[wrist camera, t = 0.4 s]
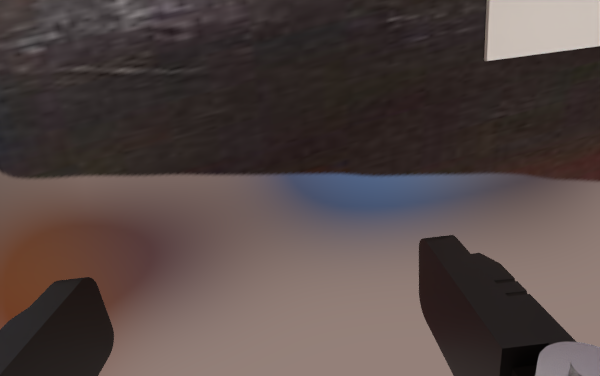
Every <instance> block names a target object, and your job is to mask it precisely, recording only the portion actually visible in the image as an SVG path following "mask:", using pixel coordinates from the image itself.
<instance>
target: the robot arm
mask: <svg viewBox="0 0 600 376" xmlns="http://www.w3.org/2000/svg"><path fill="white" fill-rule="evenodd" d="M419 297H420V303H421V308H422V312H423V315H424V317H425V320H426V322H427V324H428V326H429V328H430V330H431V331H432V334H433V336H434V337H435V339H436V341H437V343H438V345H439V347H440V349H441V351H442V353H443V355H444V357H445V359H446V361H447V363H448V365H449V367H450V369H451V371H452V373H453V375H454V376H600V347H597V346H594V345H590V344H585V343H580V342H576V341H575V340H574V339H573V338H572V337H571V336H570V335H569V334H568V333H567V332H566V331H565V330H564V329H563V328H562V327H561V326H560V325H559V324H558V323H557V322H556V321H555V319H554V318H553V317H552V316H551V315H550V314H549V313H548V312H547V311H546V310H545V309H544V308H543V307H542V306H541V305H540V304H539V303H538V302H537V301H536V300H535V299H534V298H533V297H532V296H531V295H530V294H527V291H526V290H525V289H524V288H523V287H522V286H521V285H520V284H519V283H518V282H517V281H516V282H515V279H514V277H513V276H512V275H511V274H510V273H509V272H508V271H507V270H506V269H505V268H504V267H503V266H502V265H501V264H500V263H498V262H495V261H494V260H492V259H490V258H488V257H486V256H485V255H482V254H480V253H476V254H470V253H469V252H468V250H466V248H465V247H464V246H463V245H462V244H461V243H460V241H459V240H458V239H457V238H456V237H455V236H453V235H449V236H441V237H432V238H424V239H421V241H420V243H419ZM113 340H114V332H113V328H112V325H111V322H110V319H109V316H108V313H107V311H106V308H105V305H104V302H103V300H102V297H101V294H100V291H99V289H98V286H97V284H96V282H95V281H94V280H93V279H92V278H89V277H86V278H78V279H69V280H60V281H56V282H54V283H53V284H52V285H50V286H49V288H47V290H46V291H45V292H44V293H43V294H42V295H41V296H40V297H39V298H38V299H37V300H36V301H35V302H34V303H33V304H32V305H31V306H30V307H29V308H28V309H26V310H24V311H23V312H21V313H20V314H18V315H17V316H15V317H14V318H12V319H11V320H10V321H8V322H7V324H6V325H4V327H2V328H1V330H0V376H98V375H99V373H100V371H101V370H102V368H103V366H104V364H105V363H106V361H107V359H108V357H109V355H110V353H111V351H112V347H113Z"/></svg>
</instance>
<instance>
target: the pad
mask: <svg viewBox="0 0 600 376" xmlns="http://www.w3.org/2000/svg"><path fill="white" fill-rule="evenodd" d="M596 46H600V0H487V4H486V28H485V52H484V61H491V60H499V59H506V58H514V57H521V56H529V55H536V54H544V53H551V52H559V51H566V50H574V49H581V48H589V47H596Z"/></svg>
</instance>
